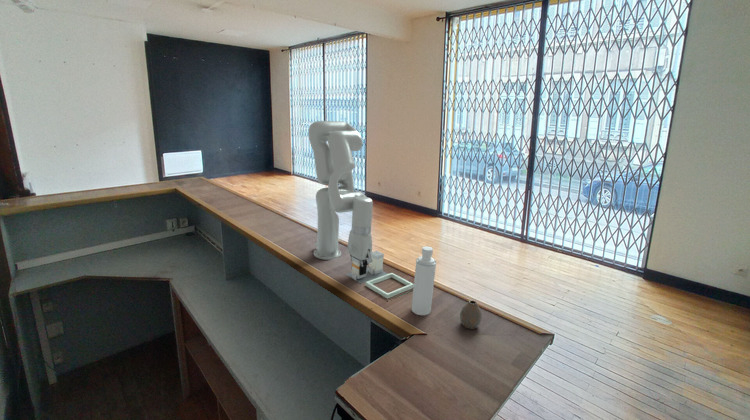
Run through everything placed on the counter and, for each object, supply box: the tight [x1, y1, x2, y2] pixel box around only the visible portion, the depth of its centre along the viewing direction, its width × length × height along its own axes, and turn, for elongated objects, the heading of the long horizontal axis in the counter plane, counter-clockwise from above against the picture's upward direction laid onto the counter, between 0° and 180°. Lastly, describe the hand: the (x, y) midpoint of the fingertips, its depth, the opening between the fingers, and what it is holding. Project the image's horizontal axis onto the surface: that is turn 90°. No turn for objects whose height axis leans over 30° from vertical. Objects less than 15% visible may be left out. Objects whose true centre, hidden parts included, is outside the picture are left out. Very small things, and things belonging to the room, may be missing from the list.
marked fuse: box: [350, 257, 366, 279], centre depth 148 cm, size 4×4×8 cm
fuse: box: [368, 250, 385, 274], centre depth 154 cm, size 4×4×8 cm
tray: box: [365, 272, 414, 301], centre depth 143 cm, size 12×14×3 cm
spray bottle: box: [411, 245, 437, 316], centre depth 128 cm, size 7×7×25 cm
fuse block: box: [345, 266, 389, 285], centre depth 152 cm, size 10×15×4 cm, turn 132°
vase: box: [459, 299, 483, 330], centre depth 123 cm, size 7×7×9 cm
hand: (358, 271), depth 149 cm, fingers closed on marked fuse, 4 cm apart
